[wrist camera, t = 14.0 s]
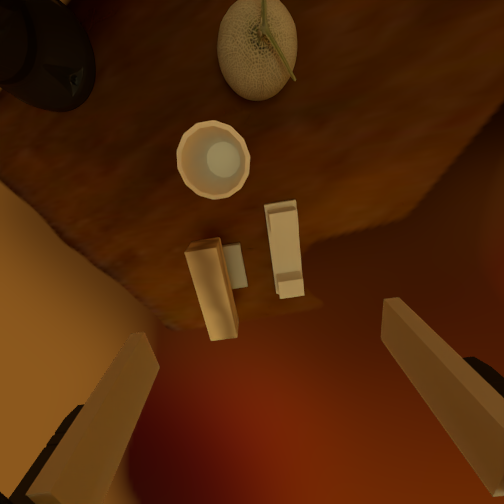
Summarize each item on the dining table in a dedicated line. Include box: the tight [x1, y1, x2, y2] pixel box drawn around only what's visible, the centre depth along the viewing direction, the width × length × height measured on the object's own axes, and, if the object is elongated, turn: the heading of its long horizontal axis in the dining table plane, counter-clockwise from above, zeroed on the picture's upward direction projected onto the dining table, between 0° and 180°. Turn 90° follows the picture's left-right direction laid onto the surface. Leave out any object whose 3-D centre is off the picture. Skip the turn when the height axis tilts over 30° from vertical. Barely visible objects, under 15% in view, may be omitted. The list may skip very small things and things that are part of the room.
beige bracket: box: [264, 199, 304, 299], centre depth 46 cm, size 6×20×4 cm, turn 9°
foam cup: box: [177, 120, 250, 200], centre depth 36 cm, size 10×9×13 cm
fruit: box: [217, 0, 297, 101], centre depth 30 cm, size 10×12×15 cm
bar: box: [185, 237, 239, 341], centre depth 41 cm, size 5×18×5 cm, turn 9°
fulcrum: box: [222, 242, 248, 289], centre depth 47 cm, size 10×10×7 cm
